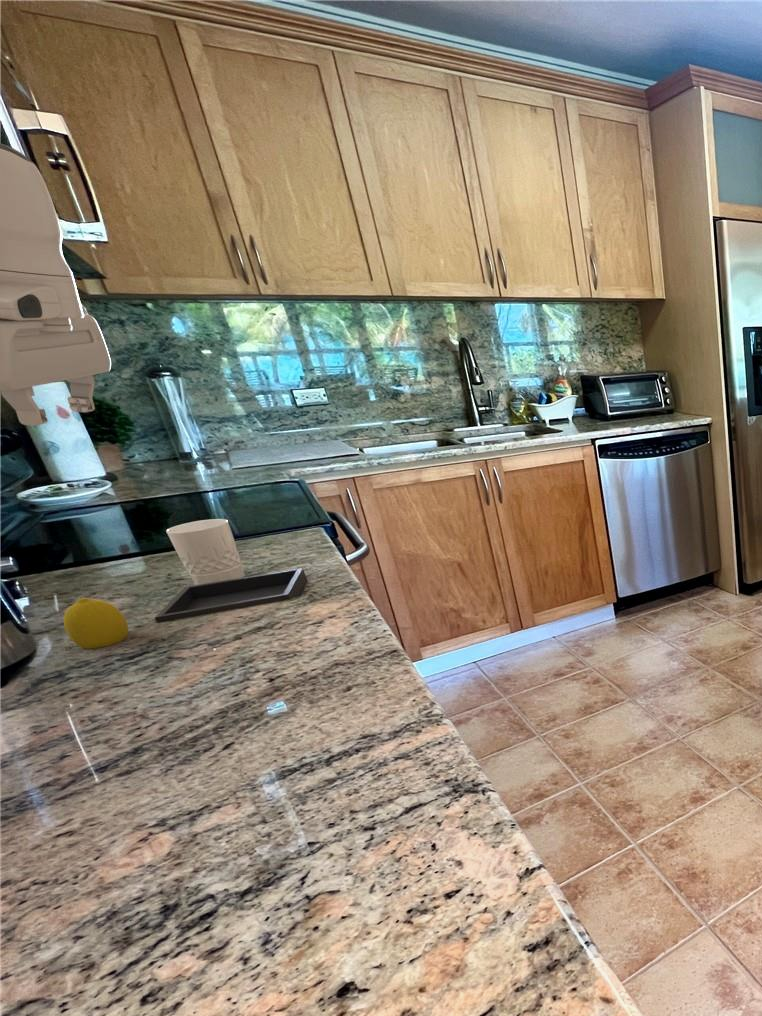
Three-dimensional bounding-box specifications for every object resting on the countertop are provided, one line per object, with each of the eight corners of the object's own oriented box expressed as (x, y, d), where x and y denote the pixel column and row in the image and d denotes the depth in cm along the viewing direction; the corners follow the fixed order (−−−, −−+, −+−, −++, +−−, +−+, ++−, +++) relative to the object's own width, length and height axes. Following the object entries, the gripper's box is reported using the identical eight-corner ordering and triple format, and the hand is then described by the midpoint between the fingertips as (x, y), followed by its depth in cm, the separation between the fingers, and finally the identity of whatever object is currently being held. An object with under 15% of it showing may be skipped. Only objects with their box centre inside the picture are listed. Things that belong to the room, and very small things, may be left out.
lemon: (71, 659, 85) (40, 604, 82) (122, 641, 90) (95, 588, 86) (98, 664, 83) (68, 608, 80) (148, 645, 88) (122, 591, 85)
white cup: (205, 576, 113) (182, 522, 109) (257, 570, 116) (236, 516, 111) (181, 592, 106) (155, 535, 102) (237, 585, 109) (213, 529, 105)
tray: (161, 633, 92) (154, 617, 91) (191, 601, 103) (184, 586, 102) (293, 609, 98) (287, 594, 97) (308, 581, 109) (303, 567, 108)
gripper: (47, 292, 82) (78, 402, 88) (-87, 293, 65) (-38, 430, 70) (111, 300, 85) (138, 407, 90) (-1, 303, 67) (40, 435, 73)
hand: (60, 417), depth 80 cm, fingers open, 8 cm apart
